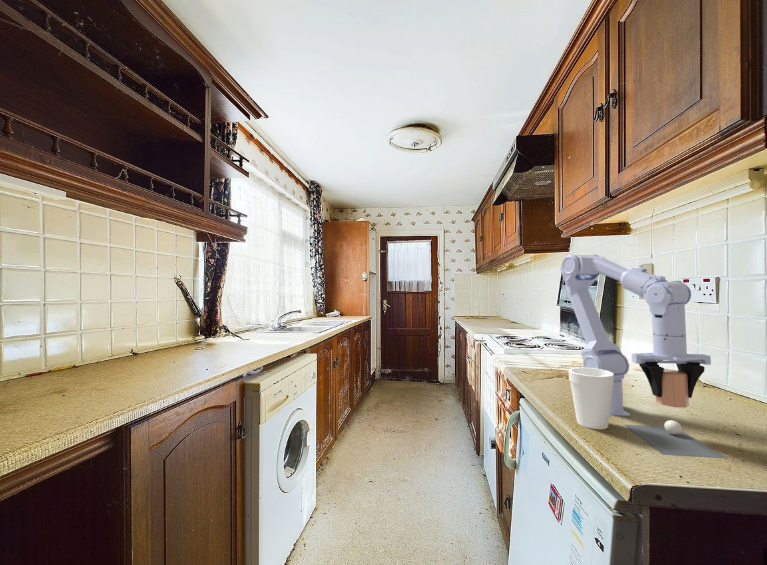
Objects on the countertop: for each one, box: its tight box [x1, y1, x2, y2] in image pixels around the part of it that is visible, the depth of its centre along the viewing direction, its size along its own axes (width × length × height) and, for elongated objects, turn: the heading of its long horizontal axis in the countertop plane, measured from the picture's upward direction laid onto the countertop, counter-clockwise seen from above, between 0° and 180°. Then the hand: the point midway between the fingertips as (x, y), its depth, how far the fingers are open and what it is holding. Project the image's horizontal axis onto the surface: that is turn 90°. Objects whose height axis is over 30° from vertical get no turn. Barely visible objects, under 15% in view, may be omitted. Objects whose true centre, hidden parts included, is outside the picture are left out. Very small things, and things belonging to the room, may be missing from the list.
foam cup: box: [568, 366, 614, 430], centre depth 82 cm, size 10×9×13 cm
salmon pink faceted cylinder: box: [655, 368, 690, 409], centre depth 75 cm, size 5×5×7 cm
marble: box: [663, 419, 683, 435], centre depth 76 cm, size 3×3×3 cm
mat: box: [623, 424, 728, 459], centre depth 73 cm, size 15×11×1 cm
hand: (671, 396), depth 75 cm, fingers closed on salmon pink faceted cylinder, 5 cm apart
